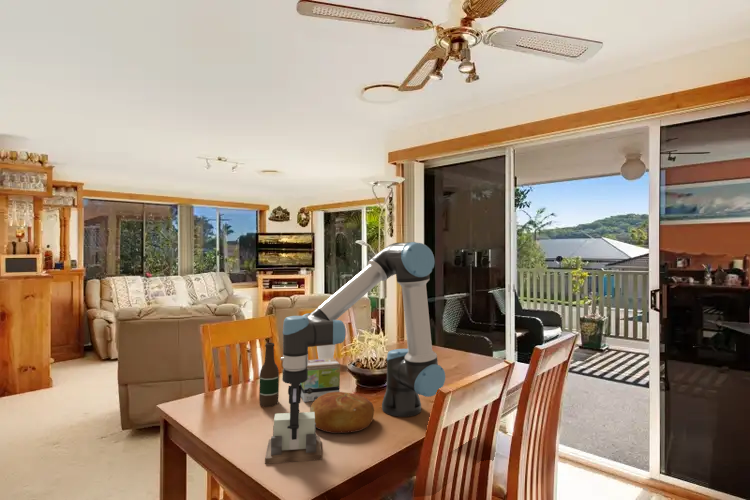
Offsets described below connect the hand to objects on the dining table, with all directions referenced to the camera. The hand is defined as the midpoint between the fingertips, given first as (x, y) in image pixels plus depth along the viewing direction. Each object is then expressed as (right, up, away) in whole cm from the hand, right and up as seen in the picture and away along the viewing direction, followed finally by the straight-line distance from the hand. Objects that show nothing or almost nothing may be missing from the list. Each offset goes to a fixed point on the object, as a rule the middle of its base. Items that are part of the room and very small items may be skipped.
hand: (294, 444), depth 124 cm
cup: (-2, -3, +98) cm, 98 cm away
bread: (+13, -3, +21) cm, 25 cm away
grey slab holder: (0, -2, 0) cm, 2 cm away
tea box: (+1, -3, +47) cm, 47 cm away
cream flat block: (0, 0, 0) cm, 0 cm away
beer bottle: (-18, -2, +39) cm, 43 cm away
